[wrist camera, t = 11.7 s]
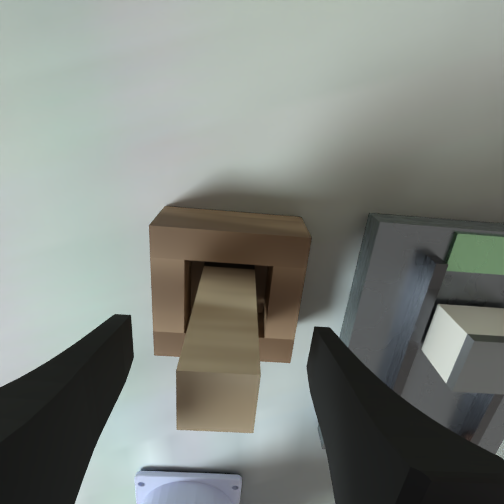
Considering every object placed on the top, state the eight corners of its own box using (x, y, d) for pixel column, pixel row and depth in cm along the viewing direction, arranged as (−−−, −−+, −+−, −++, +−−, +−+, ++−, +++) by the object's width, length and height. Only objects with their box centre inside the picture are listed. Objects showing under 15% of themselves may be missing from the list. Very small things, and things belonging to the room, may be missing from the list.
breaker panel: (479, 436, 24) (504, 470, 22) (317, 428, 23) (325, 463, 21) (587, 230, 18) (639, 248, 15) (369, 213, 17) (388, 229, 15)
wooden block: (250, 301, 18) (253, 433, 11) (204, 298, 18) (176, 429, 11) (254, 261, 17) (260, 375, 10) (206, 257, 17) (176, 370, 10)
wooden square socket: (283, 327, 20) (290, 362, 17) (166, 320, 20) (154, 355, 17) (301, 216, 17) (311, 237, 14) (165, 206, 17) (149, 225, 14)
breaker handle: (489, 353, 19) (531, 396, 16) (421, 349, 18) (451, 391, 16) (511, 308, 17) (560, 346, 15) (437, 303, 17) (474, 341, 14)
